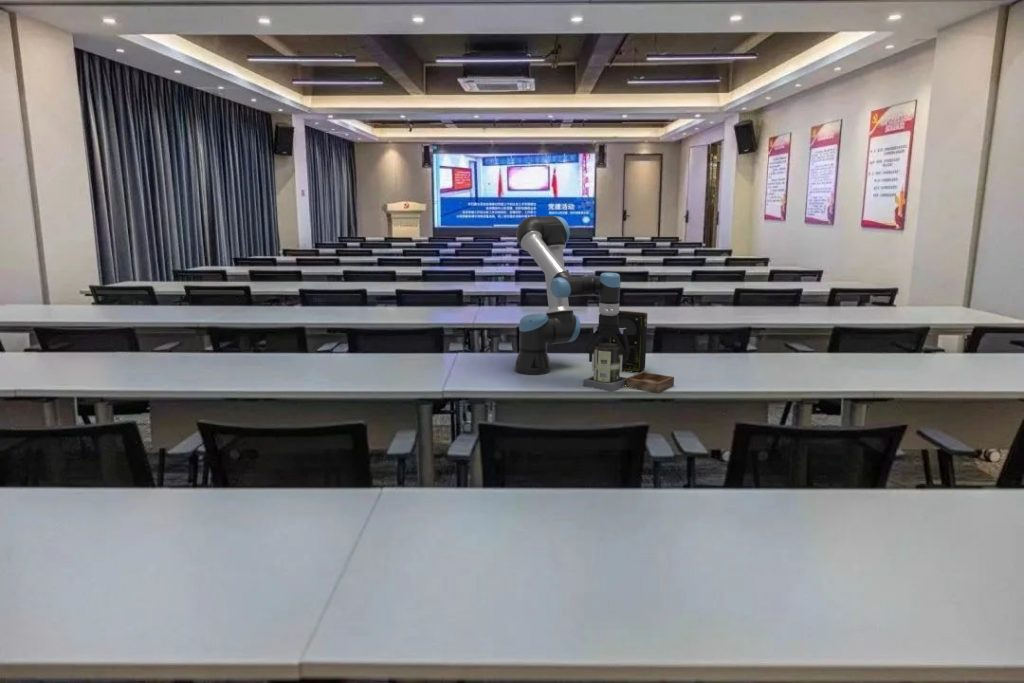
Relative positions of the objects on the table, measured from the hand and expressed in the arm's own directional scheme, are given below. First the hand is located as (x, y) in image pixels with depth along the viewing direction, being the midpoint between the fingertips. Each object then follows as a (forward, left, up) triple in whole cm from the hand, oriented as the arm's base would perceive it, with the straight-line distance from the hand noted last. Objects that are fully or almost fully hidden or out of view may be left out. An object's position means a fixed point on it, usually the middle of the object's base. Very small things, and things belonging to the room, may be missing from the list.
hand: (606, 370), depth 265 cm
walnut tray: (+14, +9, -6) cm, 18 cm away
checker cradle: (0, 0, -6) cm, 6 cm away
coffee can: (0, 0, -4) cm, 4 cm away
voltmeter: (-6, +27, -6) cm, 28 cm away
